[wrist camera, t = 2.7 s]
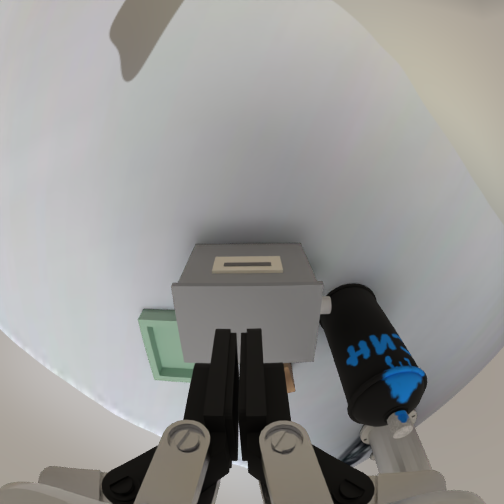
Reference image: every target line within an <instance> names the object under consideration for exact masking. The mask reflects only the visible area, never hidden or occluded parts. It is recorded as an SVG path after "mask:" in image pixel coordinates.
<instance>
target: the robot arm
mask: <svg viewBox="0 0 504 504" xmlns="http://www.w3.org/2000/svg"><path fill="white" fill-rule="evenodd" d="M408 416H409V418H410V421H411V423H412V425H413V424H414V423H415V421H416V419H417V413H416V411H415V409H414V410H413V411H412V412H411V413H410V414H408ZM238 425H239V429H240V441H241V452H242V461H248V473H250V474H251V475H252V476H253V477H255V478H256V479H258V480H259V485H260V489H261V494H262V498H263V503H264V504H486V503H485V502H484V501H483V499H482V498H481V497H480V496H478V495H477V494H475V493H472V492H469V491H461V490H448V491H446V483H445V479H444V477H443V475H442V474H440V472H437V471H435V470H432V467H431V465H430V463H429V460H428V458H427V455H426V453H425V450H424V448H423V446H422V443H421V441H420V439H419V436H418V434H417V432H416V430H415V427H414V425H413V430H412V431H411V432H410V433H409V434H408V435H406V436H404V437H402V438H397V439H396V438H393V436H392V433H391V431H390V428H389V426H388V425H386V426H381V427H373V426H368V425H364V427H363V428H362V429H361V432H360V438H361V440H362V442H364V443H366V444H371V448H372V451H373V452H372V454H371V455H370V459H371V460H375V461H376V464H377V467H378V471H379V474H377V476H367V475H366V474H364V473H363V472H360V471H359V470H357V469H354V468H353V467H351V466H349V465H347V464H345V463H344V462H342V461H340V460H338V459H336V458H335V457H333V456H331V455H329V454H328V453H326V452H324V451H322V450H321V449H319V448H317V447H316V446H314V445H312V444H311V441H310V438H309V436H308V433H307V432H306V430H305V429H304V428H303V427H302V426H301V425H299V424H297V423H295V422H292V421H291V417H290V409H289V401H288V394H287V386H286V378H285V371H284V364H283V362H280V363H263V346H262V329H261V328H254V329H247V332H245V333H241V345H240V376H239V367H238V351H237V334H236V333H231V329H216V330H215V336H214V342H213V349H212V356H211V363H195V364H194V368H193V373H192V378H191V383H190V388H189V393H188V398H187V404H186V409H185V414H184V419H183V420H181V421H177V422H175V423H172V424H171V425H170V426H168V427H167V428H166V430H165V431H164V433H163V435H162V437H161V440H160V442H159V445H158V446H156V447H154V448H152V449H150V450H149V451H147V452H145V453H143V454H142V455H140V456H138V457H136V458H134V459H132V460H130V461H128V462H126V463H125V464H123V465H121V466H119V467H117V468H115V469H113V470H111V471H110V472H108V473H105V472H101V471H100V470H88V469H76V468H66V467H57V466H49V467H47V468H45V469H44V470H43V471H42V472H41V473H40V476H39V481H38V483H34V482H13V483H8V484H6V485H4V486H2V487H1V488H0V504H215V501H216V497H217V493H218V489H219V485H220V479H221V478H222V477H224V476H225V475H226V474H228V473H229V468H231V467H232V461H237V460H238Z"/></svg>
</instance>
